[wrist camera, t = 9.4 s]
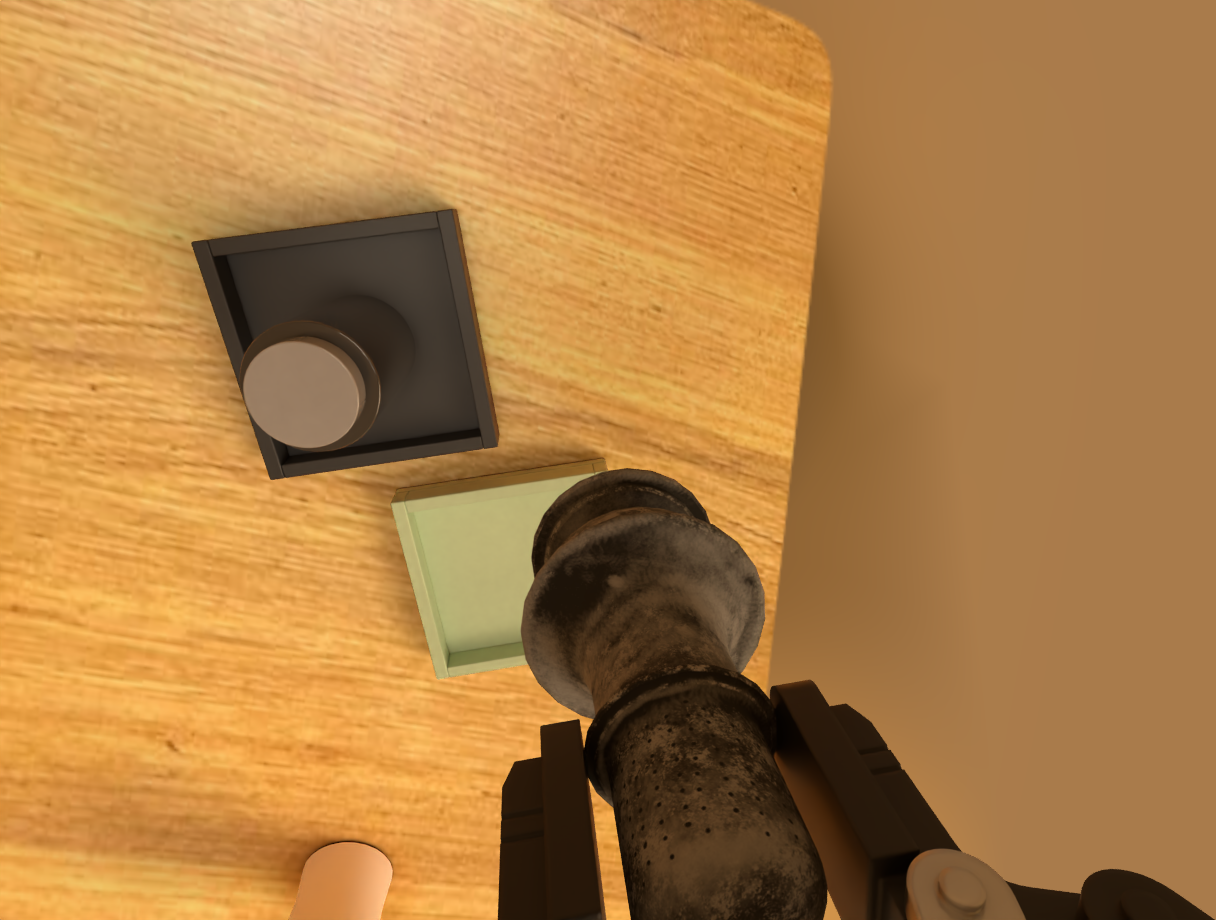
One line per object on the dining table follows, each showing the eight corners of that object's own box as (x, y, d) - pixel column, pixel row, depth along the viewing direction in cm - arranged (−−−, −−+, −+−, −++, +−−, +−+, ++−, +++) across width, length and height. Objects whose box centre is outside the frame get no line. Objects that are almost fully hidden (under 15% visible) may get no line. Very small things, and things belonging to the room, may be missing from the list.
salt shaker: (714, 635, 20) (954, 1152, 9) (522, 645, 19) (524, 1222, 8) (732, 456, 18) (1070, 837, 7) (518, 459, 17) (514, 892, 6)
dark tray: (456, 209, 34) (452, 209, 32) (499, 435, 39) (497, 447, 37) (209, 240, 33) (189, 241, 31) (283, 467, 38) (269, 480, 36)
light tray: (604, 457, 40) (608, 470, 38) (626, 628, 45) (630, 647, 43) (396, 488, 39) (389, 503, 37) (441, 659, 44) (436, 680, 42)
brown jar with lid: (402, 287, 35) (354, 316, 25) (425, 389, 37) (389, 451, 27) (295, 301, 34) (205, 336, 25) (324, 403, 36) (251, 471, 27)
